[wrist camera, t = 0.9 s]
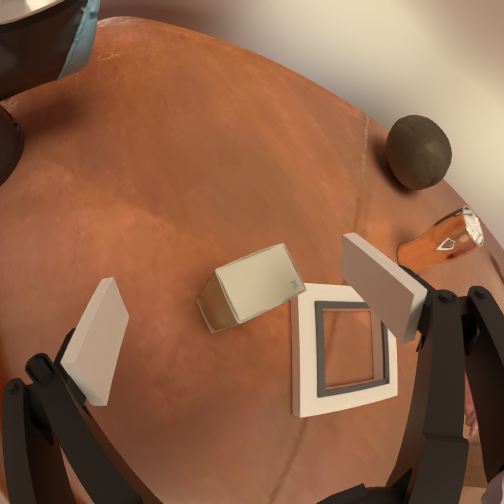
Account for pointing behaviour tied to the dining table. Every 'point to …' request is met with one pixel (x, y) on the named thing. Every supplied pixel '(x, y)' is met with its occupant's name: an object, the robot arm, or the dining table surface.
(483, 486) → the wooden block
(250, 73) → the dining table surface
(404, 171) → the dark brown ball
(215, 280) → the skincare box
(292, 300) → the socket block
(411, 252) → the beer glass
